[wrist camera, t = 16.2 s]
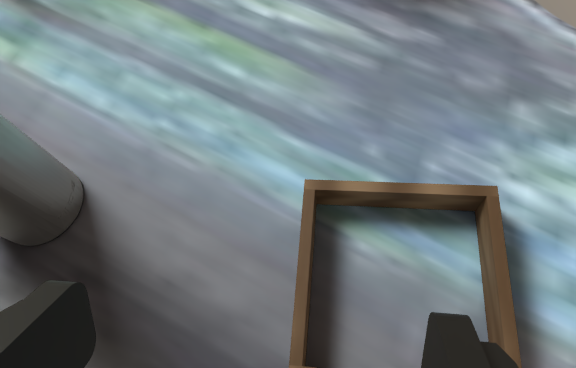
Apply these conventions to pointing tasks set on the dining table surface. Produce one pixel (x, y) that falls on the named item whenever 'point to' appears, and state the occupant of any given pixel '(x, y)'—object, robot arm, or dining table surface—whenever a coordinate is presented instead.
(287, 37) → the dining table surface
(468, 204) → the bin
